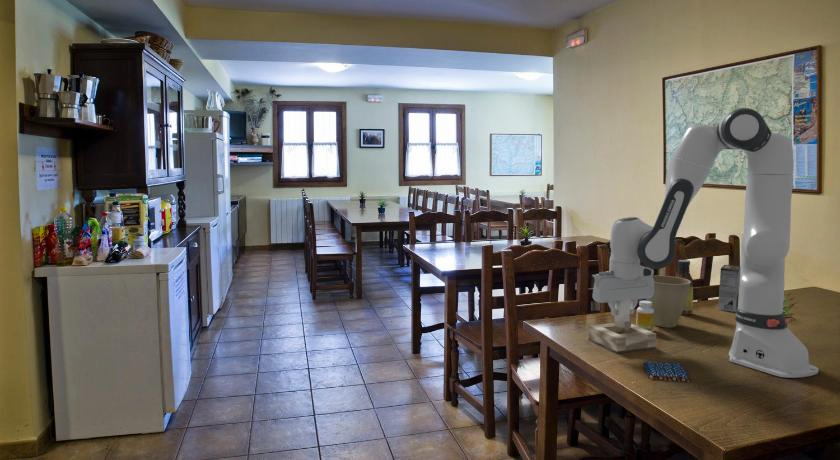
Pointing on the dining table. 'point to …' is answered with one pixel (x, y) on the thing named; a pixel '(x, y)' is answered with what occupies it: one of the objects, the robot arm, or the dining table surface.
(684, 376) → the woven mat
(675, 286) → the plant pot
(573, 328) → the dining table surface
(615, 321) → the cylinder
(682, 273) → the sauce bottle
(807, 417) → the dining table surface
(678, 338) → the dining table surface
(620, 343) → the socket block
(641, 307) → the supplement bottle
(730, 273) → the coffee box
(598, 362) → the dining table surface
